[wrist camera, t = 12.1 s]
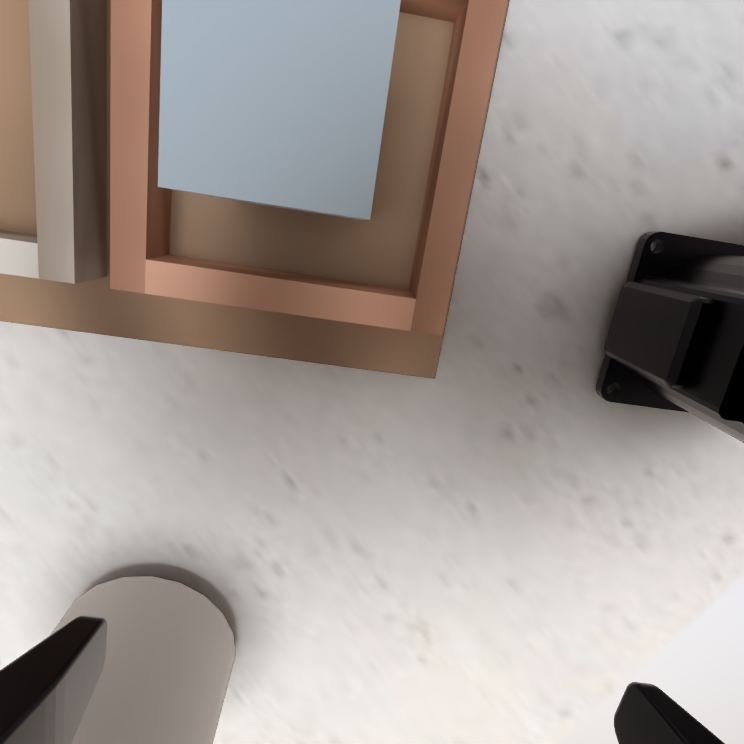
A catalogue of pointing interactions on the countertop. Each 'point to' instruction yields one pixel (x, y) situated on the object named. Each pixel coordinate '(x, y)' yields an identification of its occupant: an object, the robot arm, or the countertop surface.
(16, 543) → the countertop surface
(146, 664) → the can
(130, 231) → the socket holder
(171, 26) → the banded block
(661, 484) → the countertop surface
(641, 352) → the robot arm
